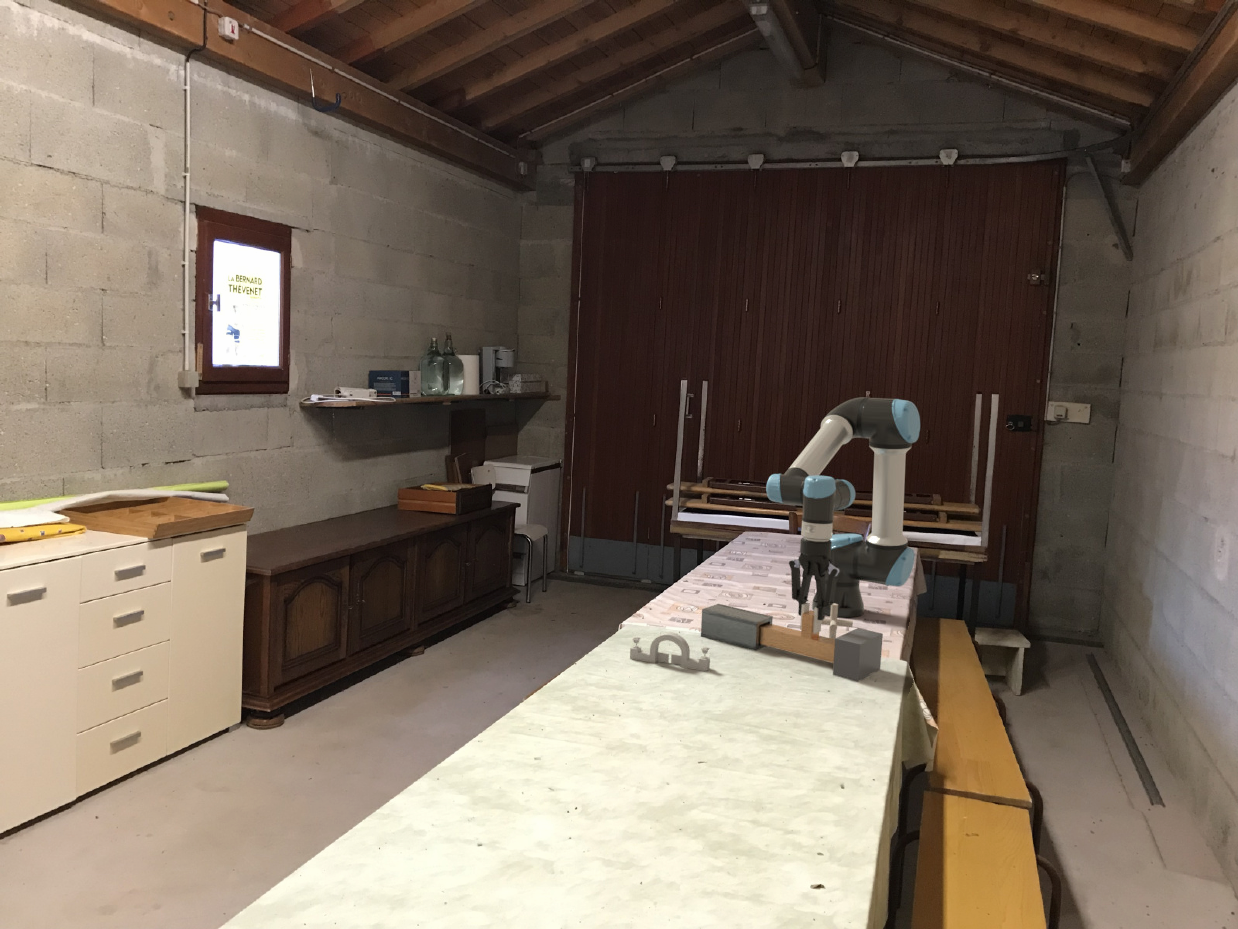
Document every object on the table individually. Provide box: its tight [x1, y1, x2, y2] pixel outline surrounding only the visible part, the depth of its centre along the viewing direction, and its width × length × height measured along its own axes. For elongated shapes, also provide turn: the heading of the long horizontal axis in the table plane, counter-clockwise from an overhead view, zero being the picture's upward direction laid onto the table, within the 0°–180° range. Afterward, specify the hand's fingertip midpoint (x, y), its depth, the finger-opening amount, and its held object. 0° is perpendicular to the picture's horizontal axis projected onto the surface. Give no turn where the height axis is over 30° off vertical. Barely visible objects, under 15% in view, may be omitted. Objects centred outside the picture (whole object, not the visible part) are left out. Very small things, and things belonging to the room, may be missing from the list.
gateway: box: [629, 632, 711, 672], centre depth 233 cm, size 20×2×8 cm, turn 69°
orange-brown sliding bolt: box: [758, 609, 835, 663], centre depth 241 cm, size 4×30×10 cm, turn 51°
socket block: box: [832, 627, 884, 682], centre depth 231 cm, size 12×6×9 cm, turn 141°
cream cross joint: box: [821, 603, 854, 639], centre depth 256 cm, size 10×10×10 cm
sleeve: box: [700, 603, 773, 652], centre depth 253 cm, size 8×17×8 cm, turn 51°
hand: (810, 630), depth 239 cm, fingers closed on orange-brown sliding bolt, 3 cm apart
